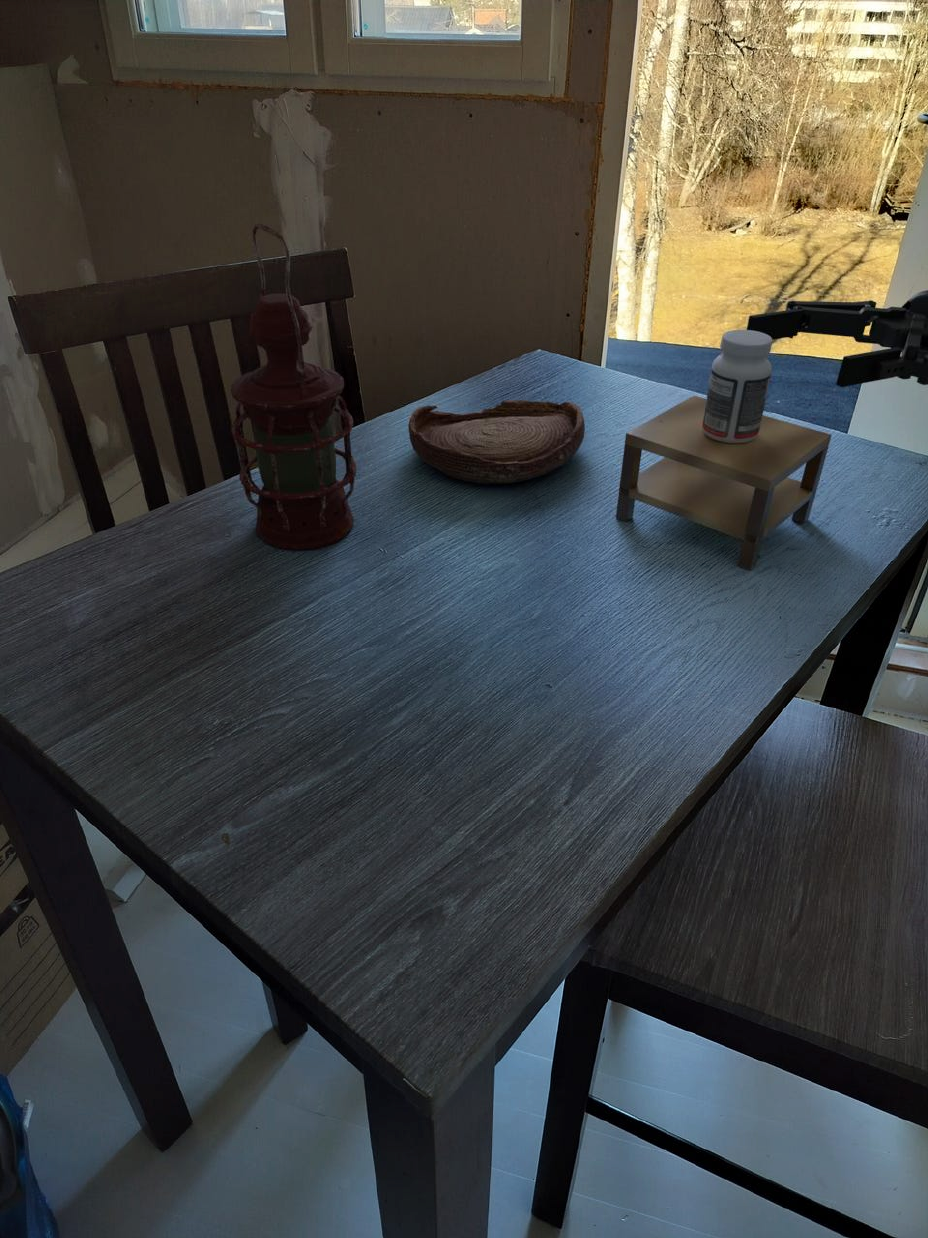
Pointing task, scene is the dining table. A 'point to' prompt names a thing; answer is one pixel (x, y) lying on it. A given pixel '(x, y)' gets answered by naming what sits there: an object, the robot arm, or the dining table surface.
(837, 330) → the robot arm
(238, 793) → the dining table surface
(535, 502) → the dining table surface
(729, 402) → the pill bottle
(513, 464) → the basket
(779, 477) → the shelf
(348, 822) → the dining table surface
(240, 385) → the lantern
